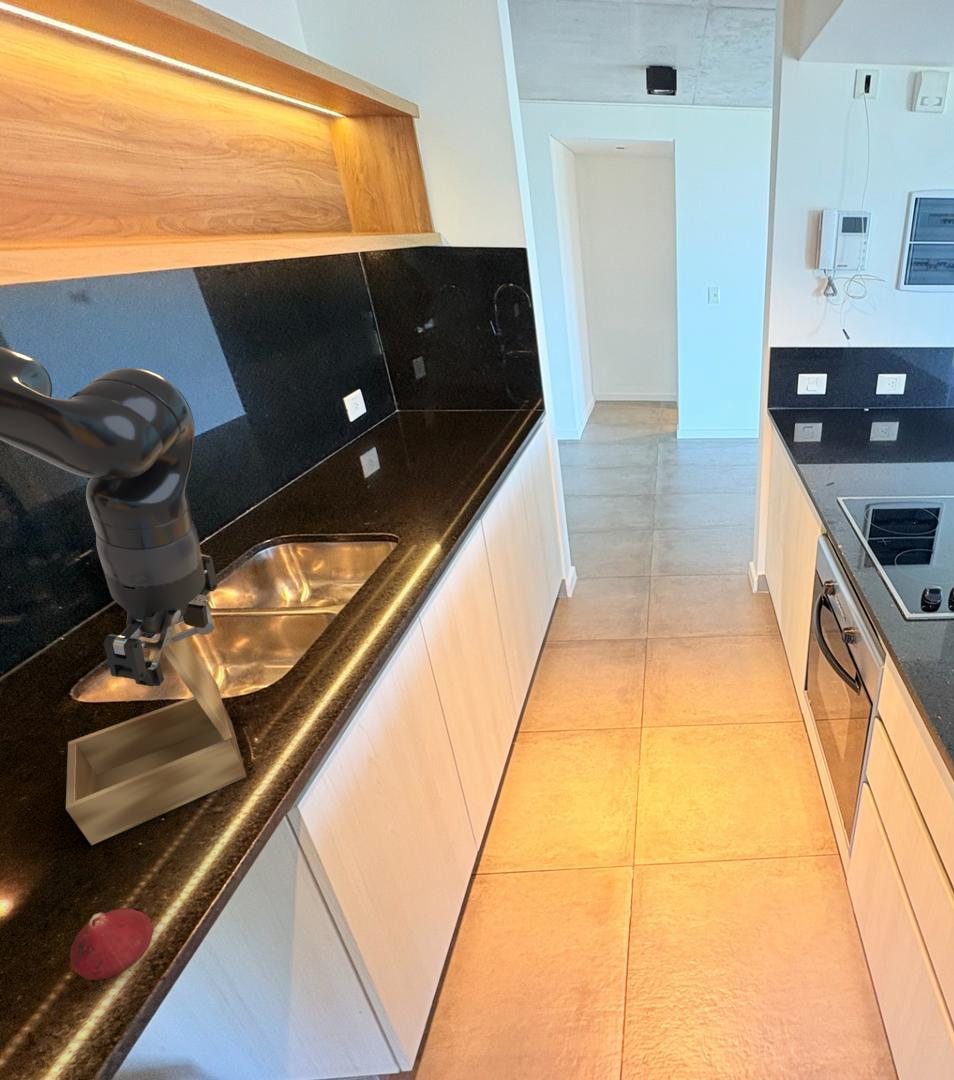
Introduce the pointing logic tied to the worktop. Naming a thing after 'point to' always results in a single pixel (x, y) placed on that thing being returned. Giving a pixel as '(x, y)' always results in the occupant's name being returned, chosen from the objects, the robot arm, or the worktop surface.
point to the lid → (197, 673)
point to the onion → (110, 943)
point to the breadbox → (147, 768)
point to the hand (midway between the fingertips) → (174, 652)
